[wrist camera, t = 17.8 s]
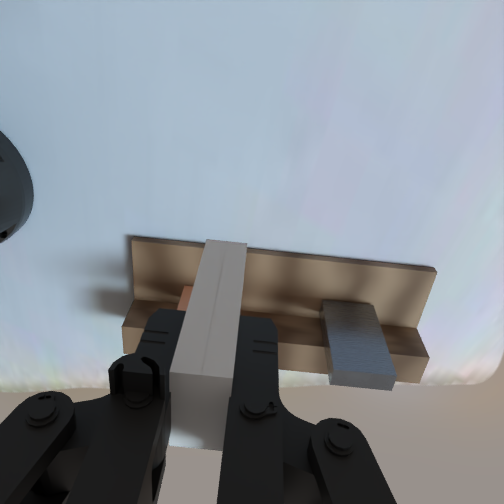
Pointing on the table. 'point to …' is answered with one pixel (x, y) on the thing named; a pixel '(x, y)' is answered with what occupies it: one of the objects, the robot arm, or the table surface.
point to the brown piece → (291, 298)
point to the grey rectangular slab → (355, 346)
